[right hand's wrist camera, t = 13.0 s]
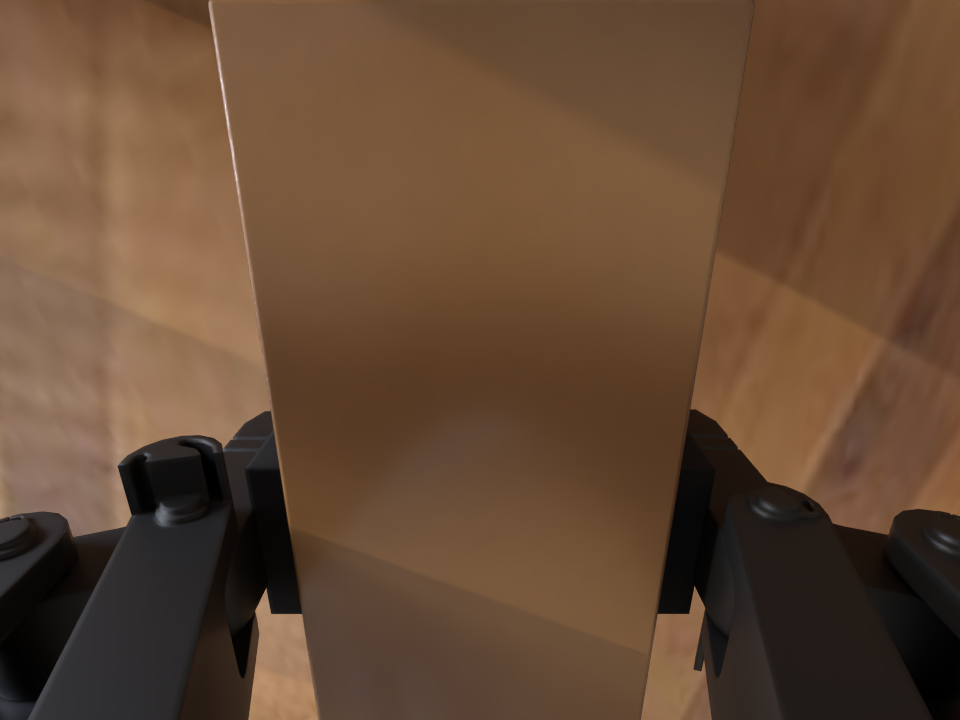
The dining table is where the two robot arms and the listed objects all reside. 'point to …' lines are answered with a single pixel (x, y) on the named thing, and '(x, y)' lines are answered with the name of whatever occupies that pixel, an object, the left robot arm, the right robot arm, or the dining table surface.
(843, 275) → the dining table surface
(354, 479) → the post
